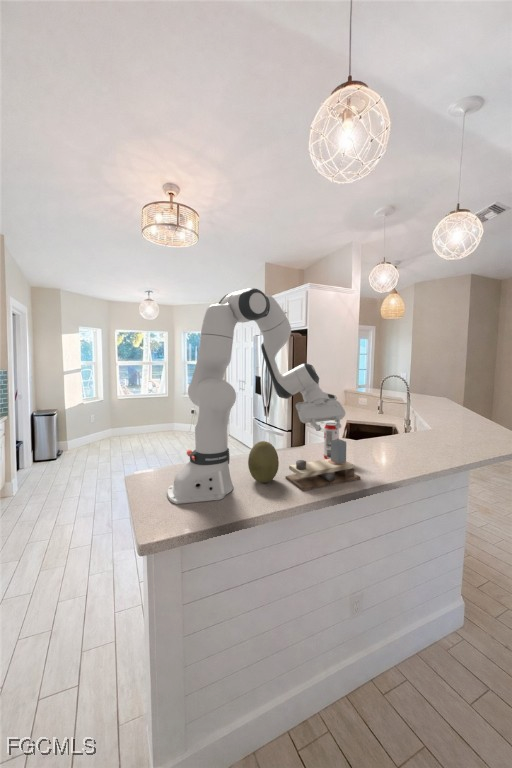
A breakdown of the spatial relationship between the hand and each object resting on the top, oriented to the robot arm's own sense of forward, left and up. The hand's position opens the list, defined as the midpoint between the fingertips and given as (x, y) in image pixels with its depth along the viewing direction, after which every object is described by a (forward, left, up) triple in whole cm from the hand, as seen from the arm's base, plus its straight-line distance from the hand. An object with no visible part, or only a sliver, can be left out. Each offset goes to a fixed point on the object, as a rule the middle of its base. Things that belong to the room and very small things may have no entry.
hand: (329, 428), depth 126 cm
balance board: (-8, -6, -13) cm, 16 cm away
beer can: (+9, +11, -17) cm, 22 cm away
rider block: (0, -6, -11) cm, 13 cm away
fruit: (-28, +1, -17) cm, 33 cm away
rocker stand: (-7, -6, -17) cm, 19 cm away
